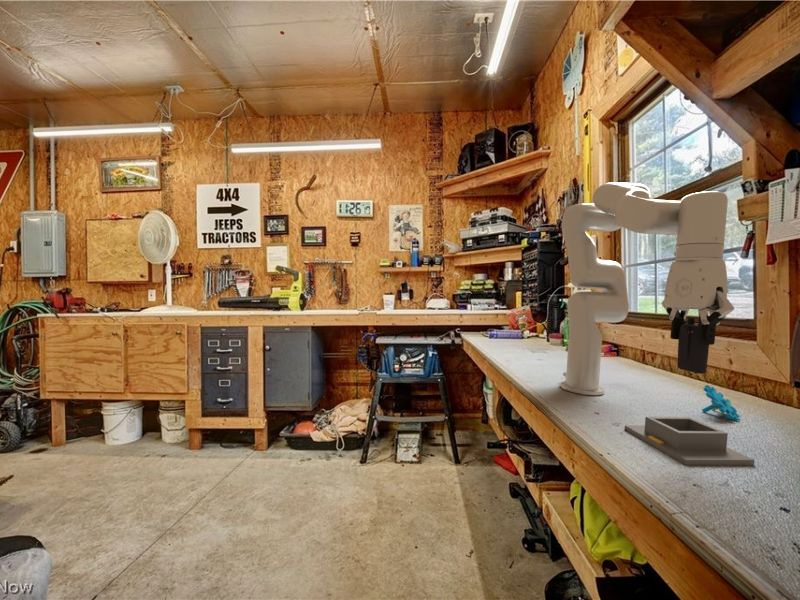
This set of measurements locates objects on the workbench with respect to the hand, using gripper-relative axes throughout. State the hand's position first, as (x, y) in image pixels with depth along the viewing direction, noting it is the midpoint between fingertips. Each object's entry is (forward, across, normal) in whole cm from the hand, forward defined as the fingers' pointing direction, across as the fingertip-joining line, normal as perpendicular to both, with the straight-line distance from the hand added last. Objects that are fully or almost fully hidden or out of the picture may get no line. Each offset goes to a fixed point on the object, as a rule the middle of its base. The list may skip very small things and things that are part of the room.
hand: (691, 340), depth 73 cm
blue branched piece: (+23, -18, +28) cm, 40 cm away
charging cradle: (+22, 0, 0) cm, 22 cm away
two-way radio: (+7, 0, 0) cm, 7 cm away
